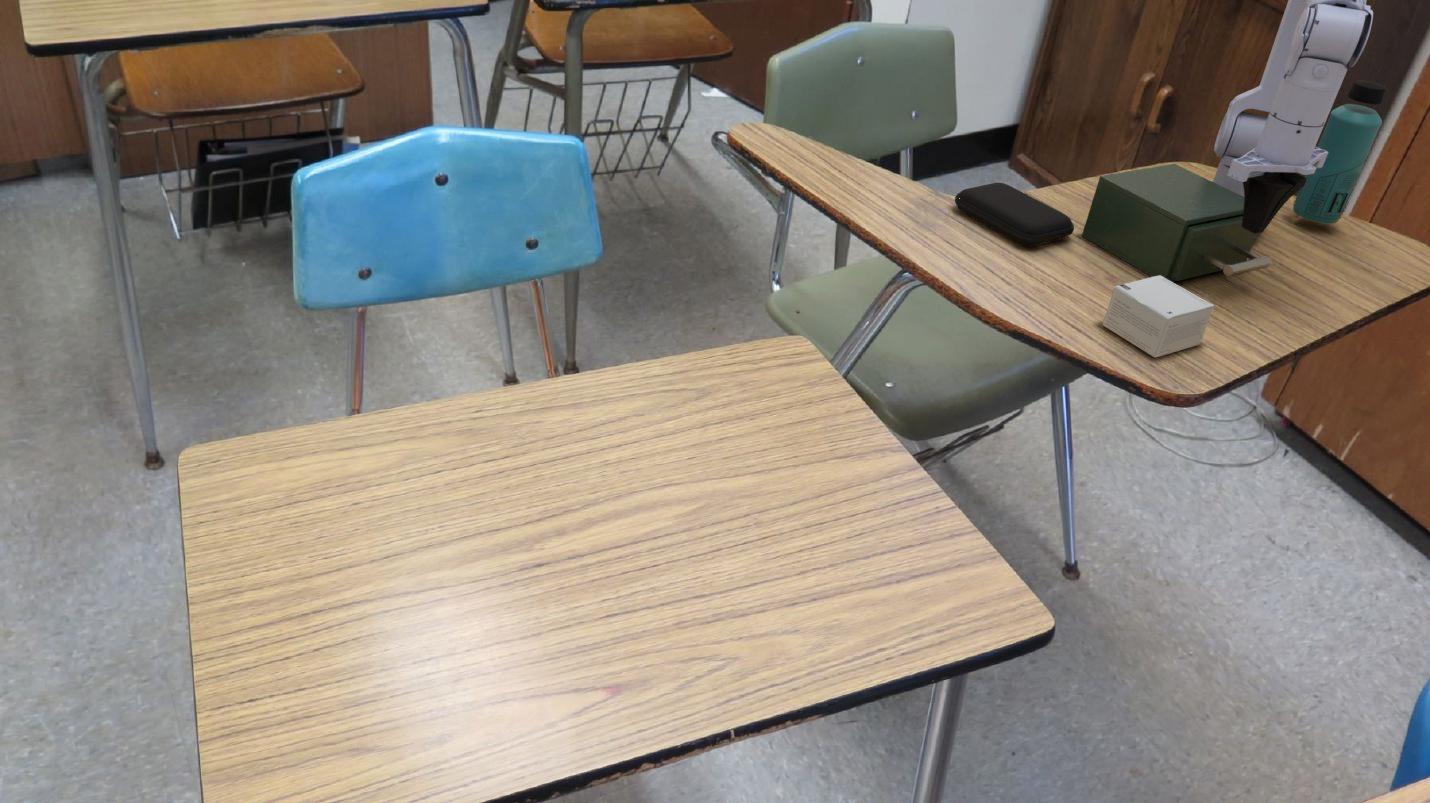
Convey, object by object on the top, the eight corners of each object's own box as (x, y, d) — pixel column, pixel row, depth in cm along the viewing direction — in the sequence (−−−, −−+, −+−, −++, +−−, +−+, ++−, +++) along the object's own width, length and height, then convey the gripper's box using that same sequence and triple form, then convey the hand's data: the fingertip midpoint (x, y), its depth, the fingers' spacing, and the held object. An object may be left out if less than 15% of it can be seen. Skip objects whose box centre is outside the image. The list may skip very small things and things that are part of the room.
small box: (1201, 345, 119) (1217, 305, 117) (1153, 359, 116) (1168, 318, 113) (1146, 312, 125) (1161, 273, 122) (1099, 325, 121) (1112, 285, 118)
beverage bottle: (1318, 237, 148) (1382, 94, 137) (1276, 218, 152) (1334, 77, 141) (1345, 229, 151) (1409, 89, 140) (1303, 211, 156) (1361, 73, 144)
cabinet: (1238, 266, 138) (1262, 205, 133) (1163, 283, 132) (1186, 220, 127) (1154, 221, 148) (1174, 163, 143) (1081, 236, 141) (1099, 175, 137)
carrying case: (1083, 239, 141) (1001, 195, 150) (1089, 217, 139) (1006, 175, 149) (1026, 254, 135) (945, 208, 145) (1032, 231, 134) (950, 186, 143)
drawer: (1276, 281, 133) (1297, 232, 129) (1208, 299, 127) (1228, 248, 124) (1166, 223, 145) (1182, 176, 141) (1098, 236, 140) (1114, 188, 136)
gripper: (1286, 137, 114) (1239, 253, 121) (1368, 124, 120) (1319, 235, 128) (1231, 114, 119) (1190, 227, 126) (1313, 103, 125) (1269, 211, 133)
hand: (1252, 229), depth 127 cm, fingers closed
